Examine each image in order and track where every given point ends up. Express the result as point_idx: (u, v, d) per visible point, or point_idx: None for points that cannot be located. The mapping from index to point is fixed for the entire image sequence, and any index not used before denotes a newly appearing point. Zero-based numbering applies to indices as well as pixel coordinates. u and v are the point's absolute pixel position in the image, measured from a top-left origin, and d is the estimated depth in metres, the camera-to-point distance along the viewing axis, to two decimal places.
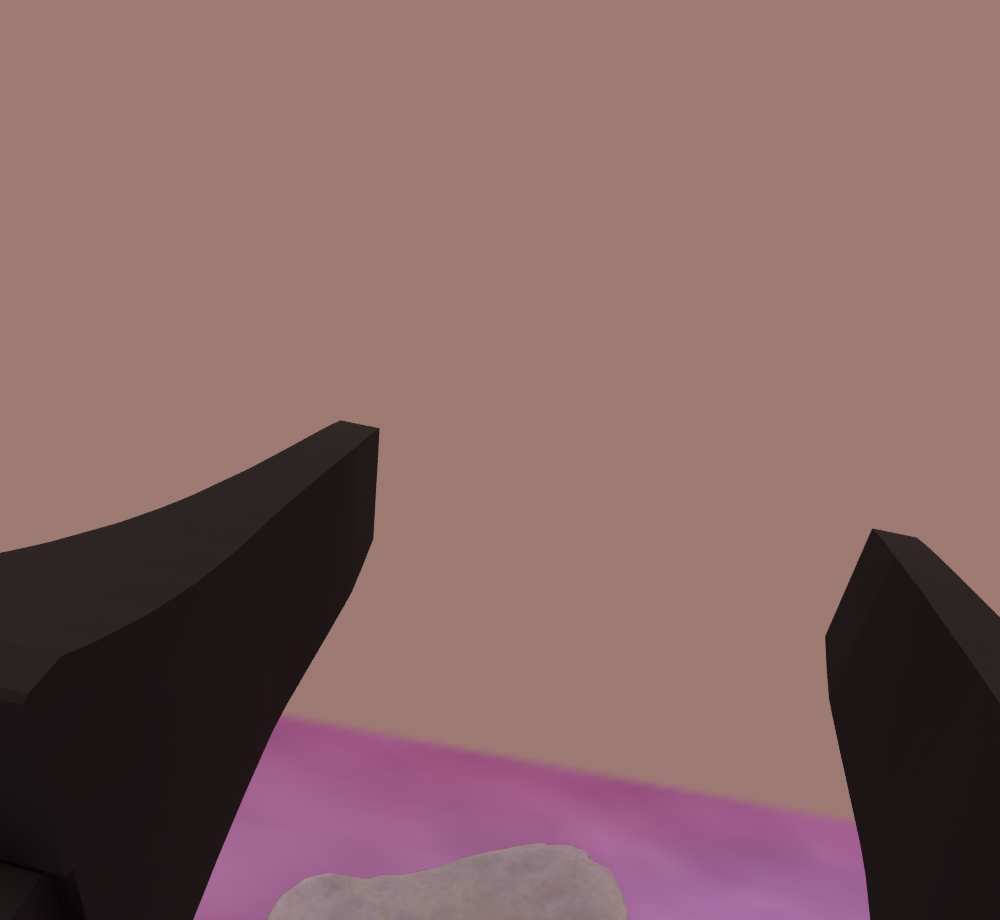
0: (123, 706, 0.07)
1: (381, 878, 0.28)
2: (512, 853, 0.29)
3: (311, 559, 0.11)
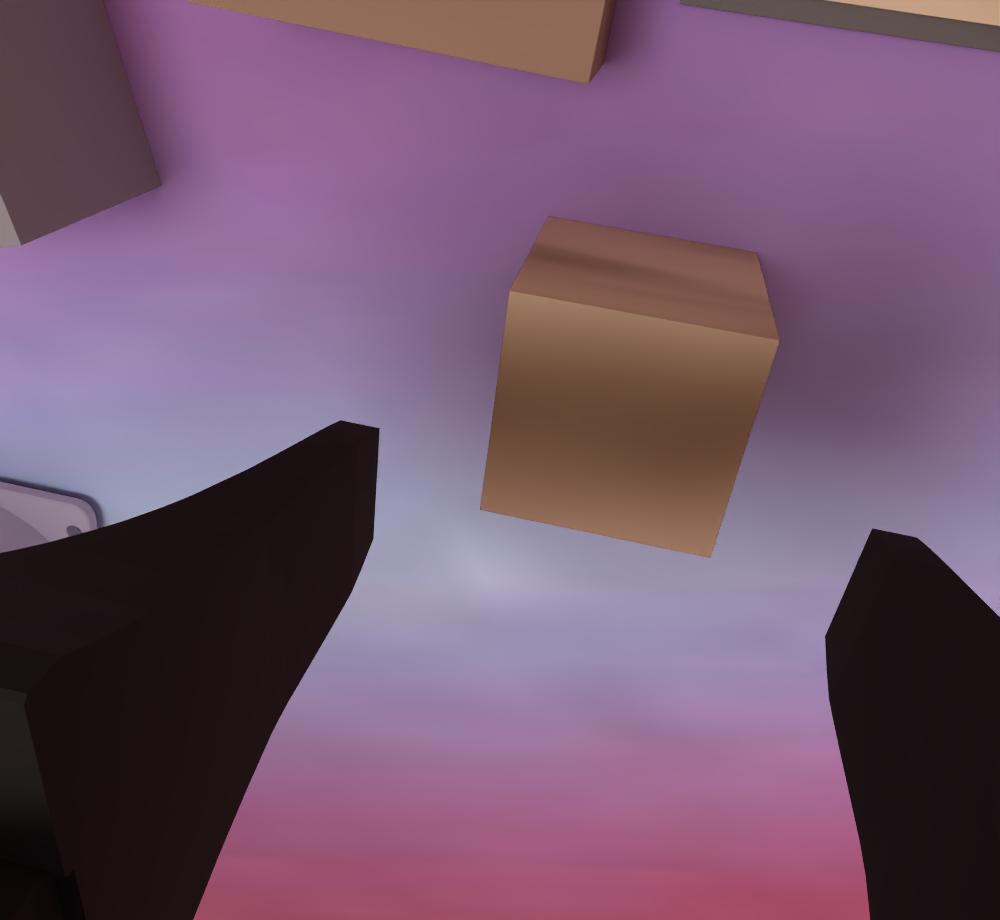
0: (123, 706, 0.07)
1: None
2: None
3: (311, 560, 0.11)
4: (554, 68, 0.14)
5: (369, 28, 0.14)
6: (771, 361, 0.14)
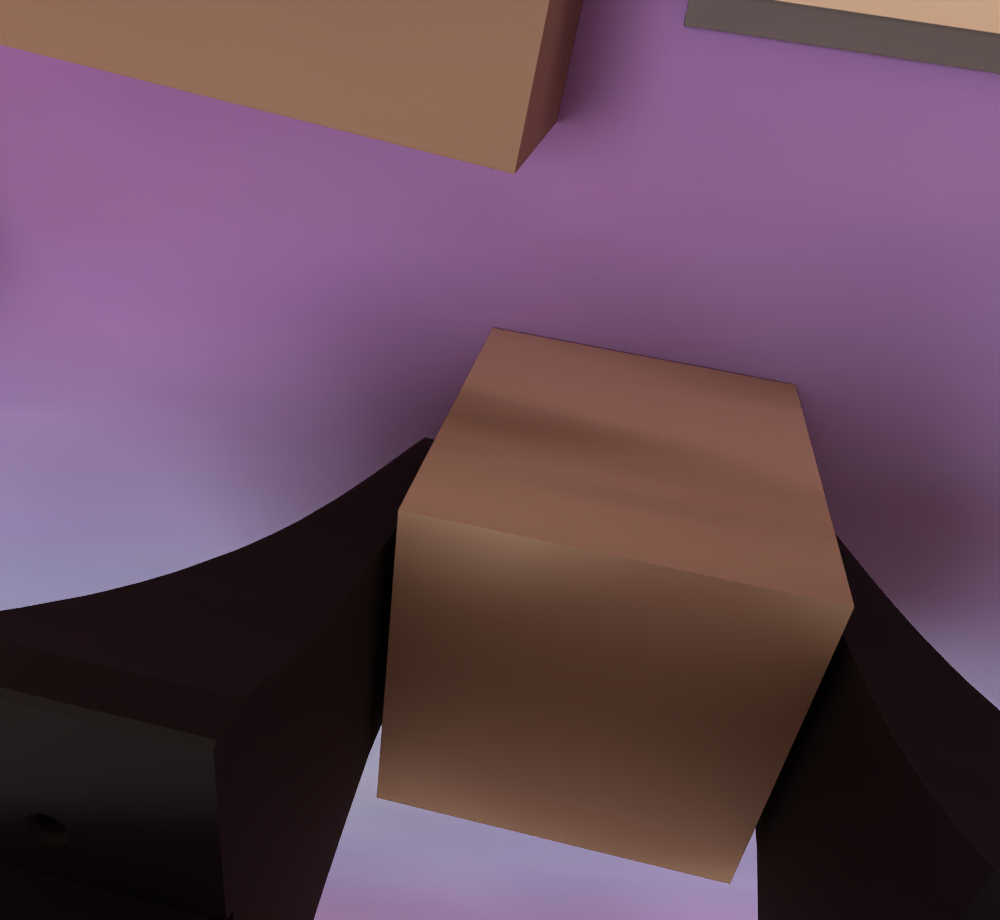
0: (276, 743, 0.07)
1: None
2: None
3: None
4: (458, 145, 0.08)
5: (155, 66, 0.09)
6: (838, 632, 0.08)
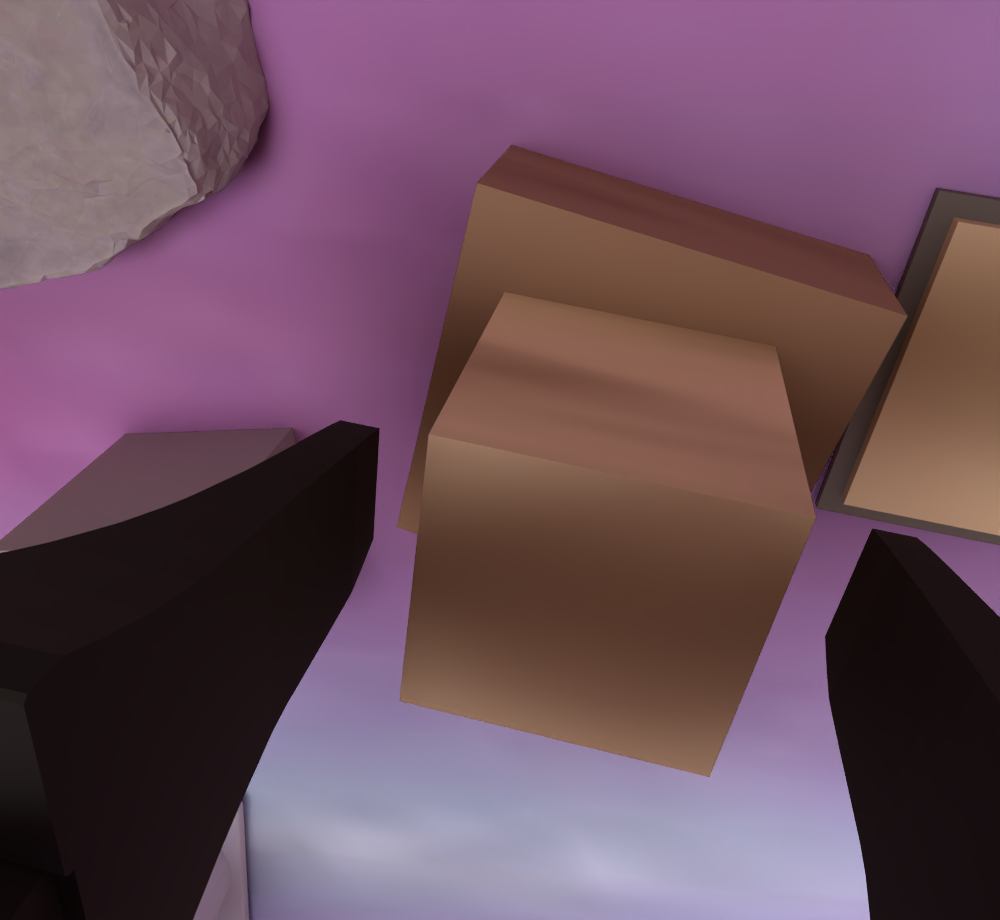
0: (123, 706, 0.07)
1: None
2: None
3: (311, 559, 0.11)
4: None
5: None
6: (803, 542, 0.10)
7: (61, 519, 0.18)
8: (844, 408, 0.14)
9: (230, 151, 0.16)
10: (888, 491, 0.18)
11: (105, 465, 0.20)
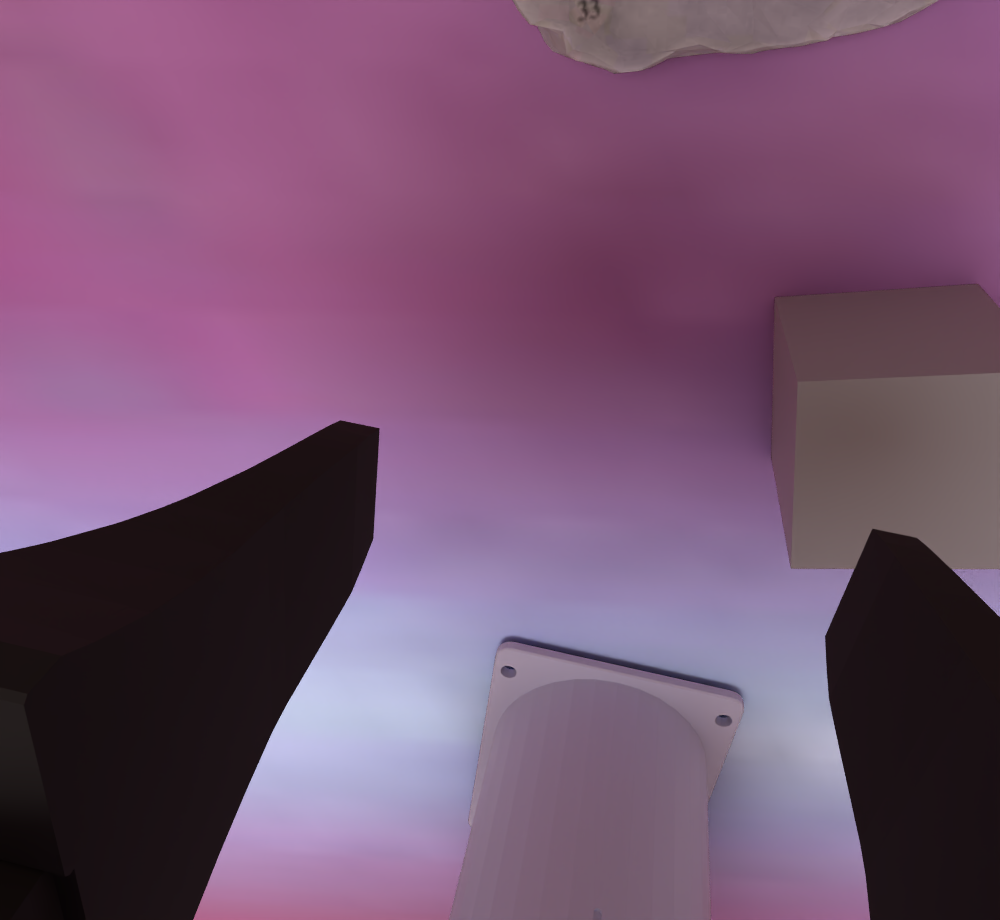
0: (123, 706, 0.07)
1: None
2: None
3: (311, 560, 0.11)
4: None
5: None
6: None
7: (839, 356, 0.17)
8: None
9: None
10: None
11: (802, 318, 0.19)
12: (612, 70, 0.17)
